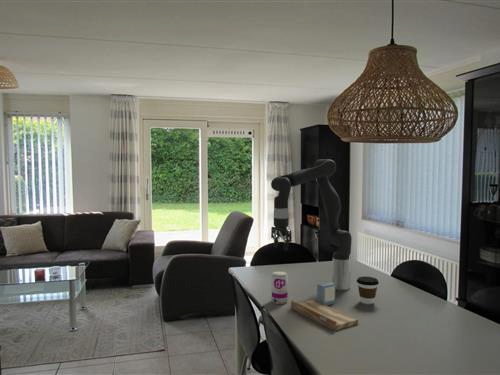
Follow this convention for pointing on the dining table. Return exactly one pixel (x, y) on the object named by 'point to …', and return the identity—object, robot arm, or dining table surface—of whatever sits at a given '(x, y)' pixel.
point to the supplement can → (279, 287)
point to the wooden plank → (324, 314)
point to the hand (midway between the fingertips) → (281, 248)
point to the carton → (326, 293)
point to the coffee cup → (367, 289)
